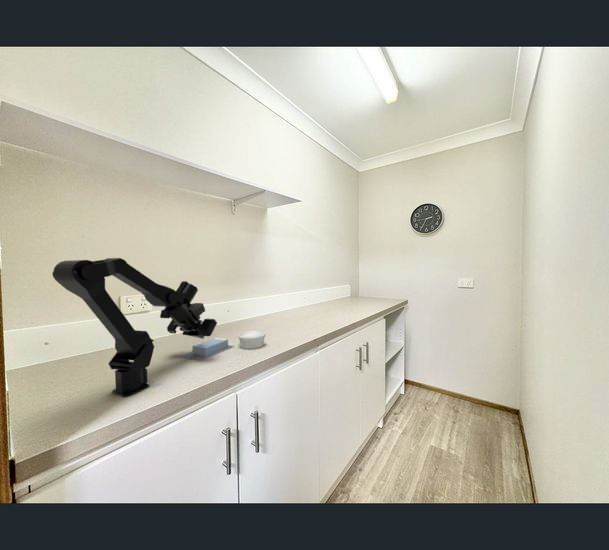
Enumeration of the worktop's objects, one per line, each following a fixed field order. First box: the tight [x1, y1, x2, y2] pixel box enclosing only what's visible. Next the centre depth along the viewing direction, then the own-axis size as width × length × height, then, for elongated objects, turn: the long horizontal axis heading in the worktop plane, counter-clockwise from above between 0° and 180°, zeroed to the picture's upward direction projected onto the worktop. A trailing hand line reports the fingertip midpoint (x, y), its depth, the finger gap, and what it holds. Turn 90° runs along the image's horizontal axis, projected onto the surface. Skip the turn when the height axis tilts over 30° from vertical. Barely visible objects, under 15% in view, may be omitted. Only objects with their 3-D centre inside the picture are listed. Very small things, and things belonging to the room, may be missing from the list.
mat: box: [177, 344, 235, 362], centre depth 98 cm, size 18×12×1 cm, turn 155°
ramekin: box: [238, 330, 266, 350], centre depth 105 cm, size 11×11×5 cm
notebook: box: [192, 337, 229, 356], centre depth 100 cm, size 3×7×12 cm
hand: (203, 337), depth 97 cm, fingers closed
